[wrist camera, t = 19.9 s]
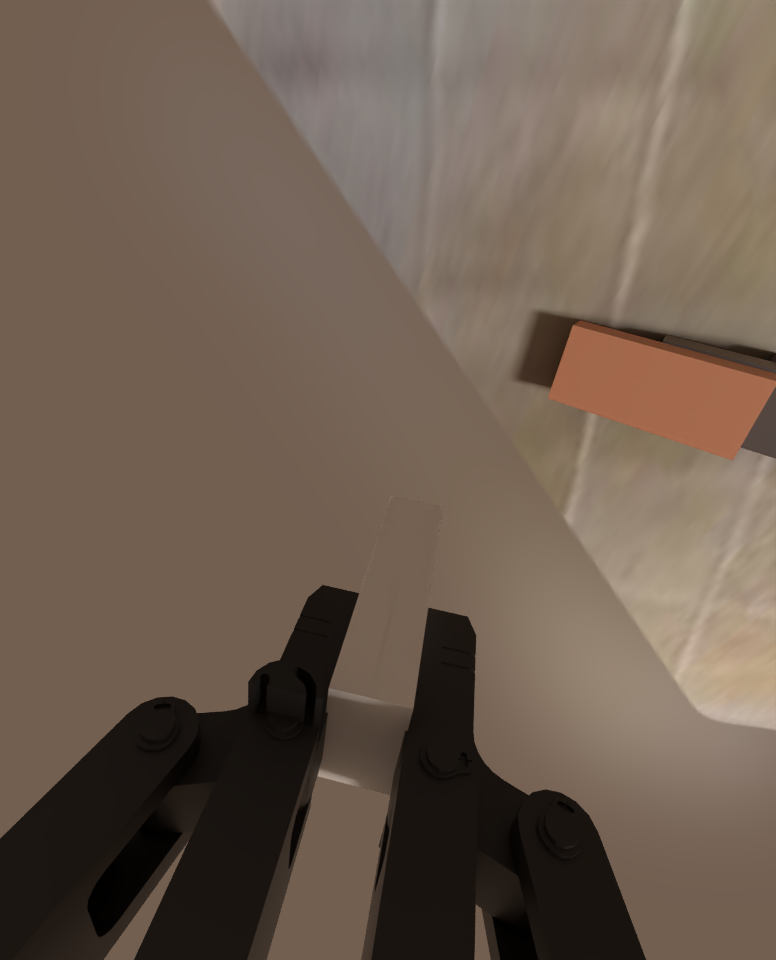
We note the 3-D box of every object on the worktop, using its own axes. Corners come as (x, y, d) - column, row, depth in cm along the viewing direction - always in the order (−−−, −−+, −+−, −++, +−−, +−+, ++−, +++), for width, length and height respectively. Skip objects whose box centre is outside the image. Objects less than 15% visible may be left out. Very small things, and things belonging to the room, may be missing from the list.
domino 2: (632, 412, 36) (830, 475, 32) (663, 339, 34) (884, 397, 29) (636, 403, 38) (824, 462, 34) (666, 334, 35) (874, 388, 31)
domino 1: (547, 398, 36) (732, 460, 32) (573, 325, 34) (778, 381, 29) (556, 390, 38) (732, 448, 34) (581, 320, 36) (775, 373, 31)
